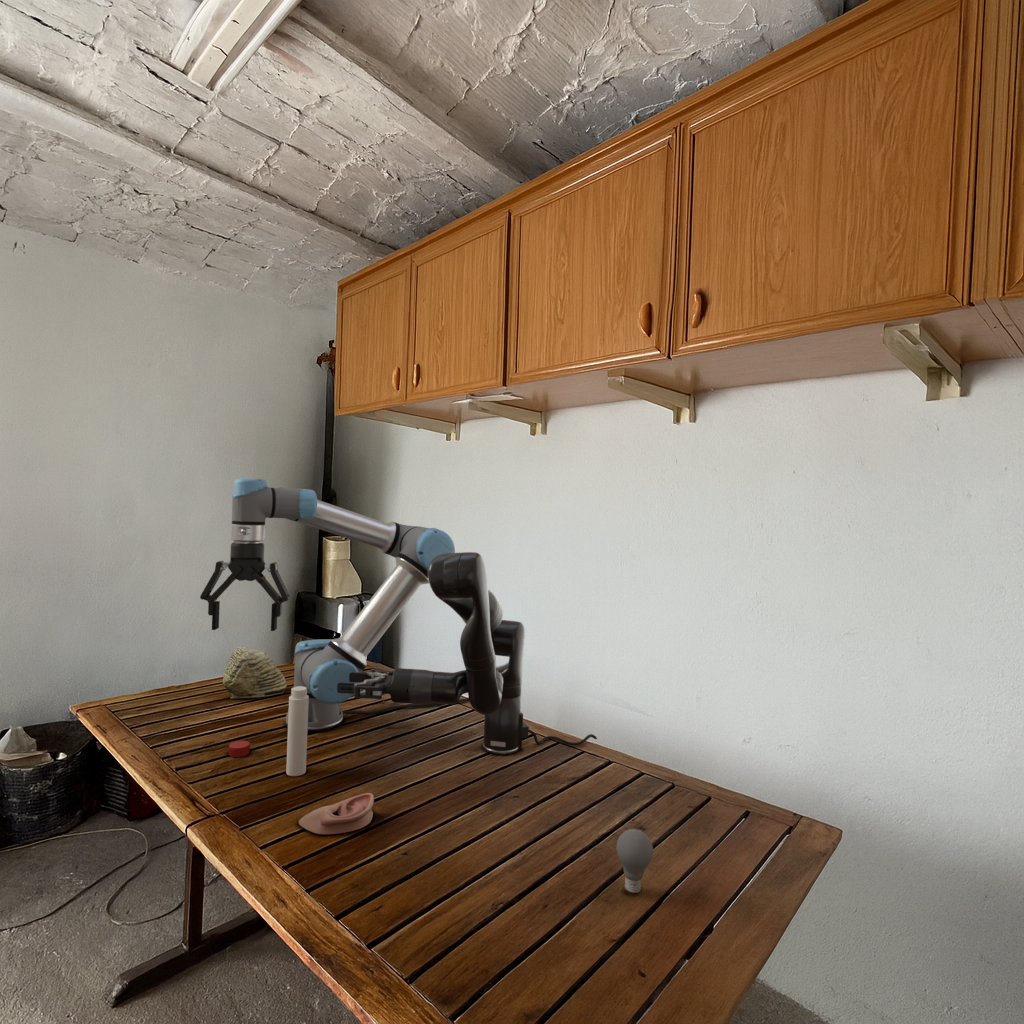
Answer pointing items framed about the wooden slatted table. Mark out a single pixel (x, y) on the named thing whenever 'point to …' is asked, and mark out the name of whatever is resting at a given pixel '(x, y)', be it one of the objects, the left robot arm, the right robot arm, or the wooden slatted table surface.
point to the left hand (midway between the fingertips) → (244, 629)
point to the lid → (239, 748)
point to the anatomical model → (340, 816)
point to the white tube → (297, 731)
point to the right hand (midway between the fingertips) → (343, 682)
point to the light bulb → (634, 857)
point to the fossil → (252, 674)
